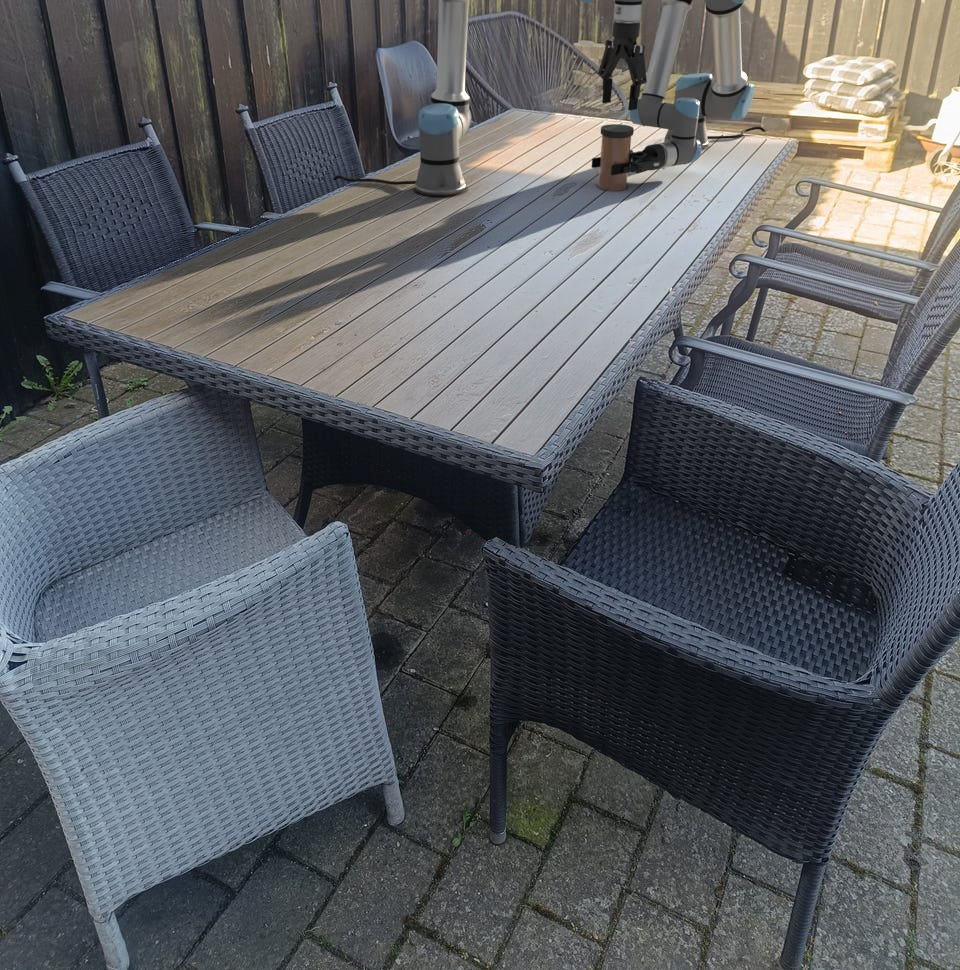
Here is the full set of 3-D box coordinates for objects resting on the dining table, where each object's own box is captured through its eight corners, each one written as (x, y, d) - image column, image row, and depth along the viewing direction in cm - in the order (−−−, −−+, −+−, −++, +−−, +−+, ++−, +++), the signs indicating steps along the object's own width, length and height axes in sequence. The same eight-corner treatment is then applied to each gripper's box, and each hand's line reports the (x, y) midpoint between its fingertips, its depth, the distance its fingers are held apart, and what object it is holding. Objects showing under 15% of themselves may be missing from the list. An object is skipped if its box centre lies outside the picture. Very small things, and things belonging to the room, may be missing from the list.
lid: (603, 138, 248) (603, 132, 247) (598, 130, 256) (598, 124, 255) (636, 137, 248) (636, 131, 247) (629, 129, 256) (630, 123, 255)
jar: (600, 190, 258) (605, 133, 248) (596, 182, 265) (600, 126, 255) (628, 190, 258) (634, 132, 248) (623, 182, 265) (628, 125, 255)
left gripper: (589, 17, 241) (584, 100, 254) (645, 27, 225) (636, 115, 238) (609, 15, 244) (603, 97, 257) (666, 25, 229) (656, 111, 242)
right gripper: (680, 176, 260) (623, 188, 250) (634, 160, 275) (579, 171, 265) (683, 151, 256) (626, 162, 246) (637, 136, 270) (581, 146, 261)
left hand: (619, 106), depth 248 cm, fingers open, 11 cm apart
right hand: (602, 166), depth 255 cm, fingers closed on jar, 9 cm apart
